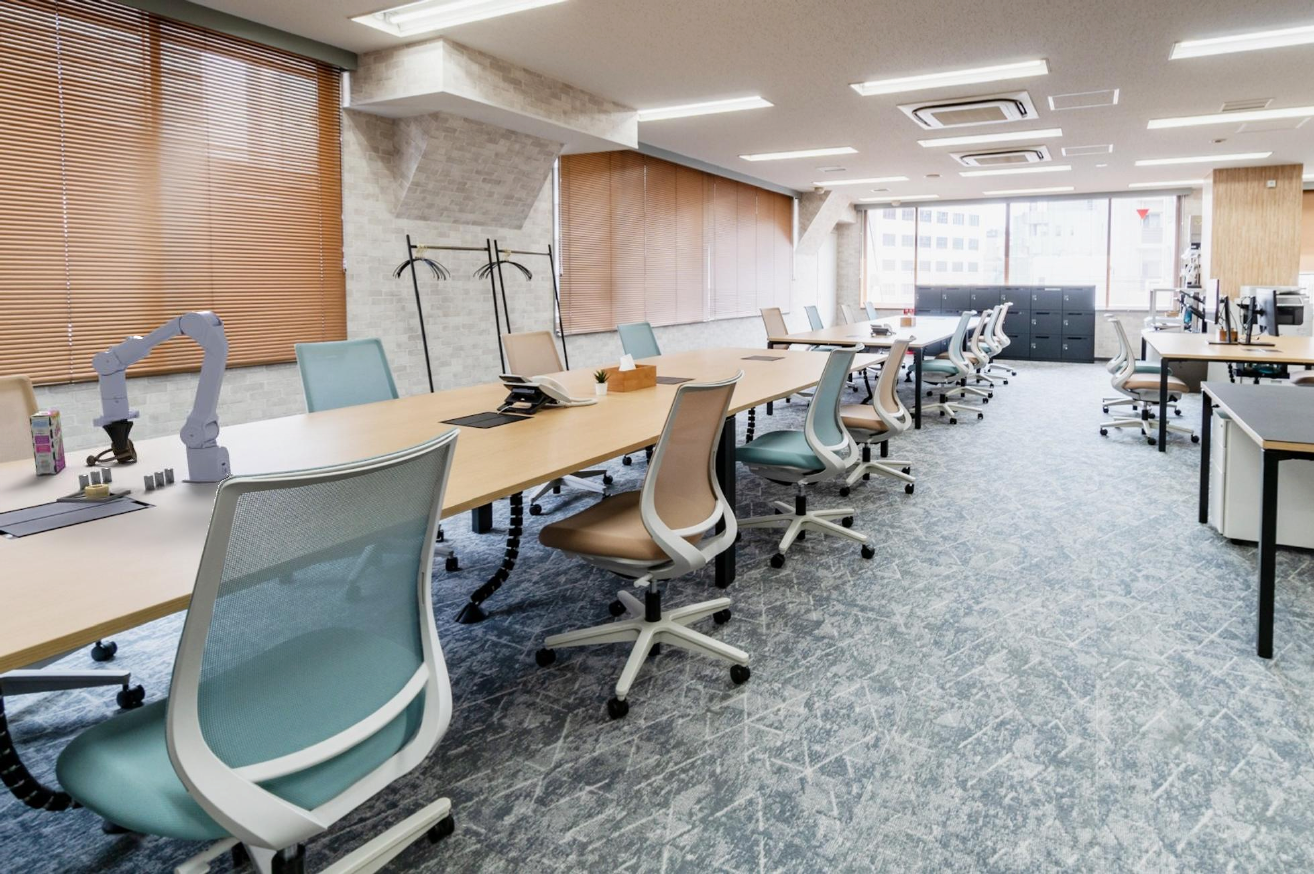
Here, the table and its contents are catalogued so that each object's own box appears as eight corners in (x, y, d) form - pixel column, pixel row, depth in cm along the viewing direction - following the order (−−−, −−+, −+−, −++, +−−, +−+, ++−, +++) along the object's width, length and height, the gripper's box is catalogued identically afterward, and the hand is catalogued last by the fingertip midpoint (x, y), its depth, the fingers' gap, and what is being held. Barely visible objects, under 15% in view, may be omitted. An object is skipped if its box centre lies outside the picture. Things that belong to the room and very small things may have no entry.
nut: (110, 492, 205) (109, 483, 204) (107, 497, 200) (106, 487, 200) (88, 494, 203) (87, 485, 202) (85, 499, 198) (83, 489, 198)
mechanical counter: (127, 448, 234) (143, 434, 244) (78, 445, 233) (96, 431, 242) (130, 470, 237) (146, 456, 246) (82, 468, 235) (99, 453, 244)
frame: (130, 492, 205) (130, 490, 204) (105, 502, 196) (104, 499, 196) (84, 492, 205) (84, 489, 205) (56, 501, 196) (56, 499, 196)
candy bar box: (58, 474, 225) (50, 415, 222) (36, 476, 223) (27, 416, 220) (67, 466, 235) (59, 409, 232) (46, 468, 233) (38, 410, 230)
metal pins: (176, 481, 217) (174, 468, 216) (151, 490, 207) (149, 476, 206) (106, 480, 218) (104, 467, 217) (78, 489, 208) (76, 476, 207)
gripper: (119, 394, 221) (125, 444, 223) (78, 401, 207) (85, 454, 209) (144, 394, 220) (150, 444, 223) (106, 401, 206) (112, 455, 209)
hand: (120, 449), depth 216 cm, fingers closed
